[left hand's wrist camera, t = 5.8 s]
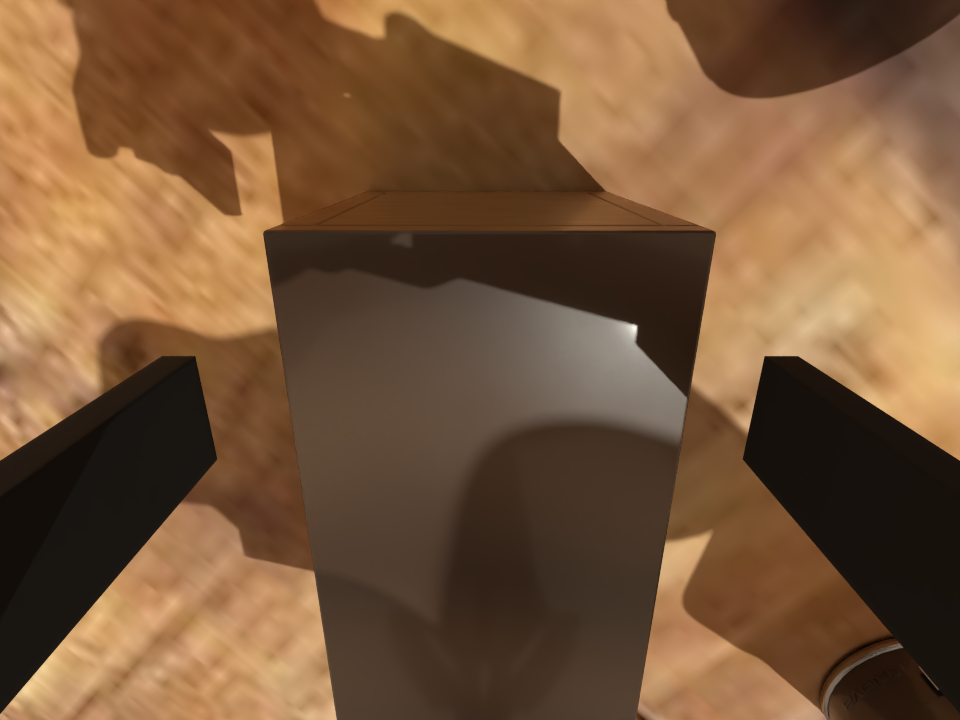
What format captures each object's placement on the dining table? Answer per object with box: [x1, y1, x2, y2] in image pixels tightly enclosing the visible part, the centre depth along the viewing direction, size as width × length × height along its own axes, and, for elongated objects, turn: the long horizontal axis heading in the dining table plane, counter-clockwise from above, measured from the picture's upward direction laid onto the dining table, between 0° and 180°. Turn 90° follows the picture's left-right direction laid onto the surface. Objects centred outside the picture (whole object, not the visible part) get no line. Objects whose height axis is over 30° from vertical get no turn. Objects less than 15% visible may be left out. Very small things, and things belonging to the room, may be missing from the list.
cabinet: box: [263, 191, 716, 720], centre depth 22 cm, size 22×11×12 cm, turn 0°
